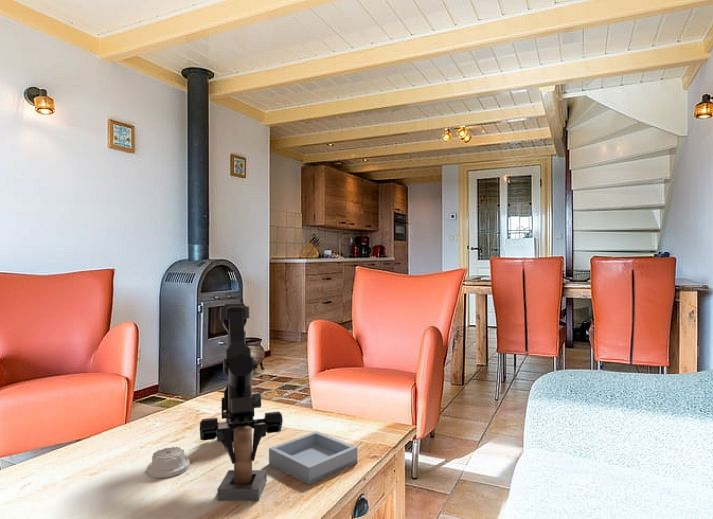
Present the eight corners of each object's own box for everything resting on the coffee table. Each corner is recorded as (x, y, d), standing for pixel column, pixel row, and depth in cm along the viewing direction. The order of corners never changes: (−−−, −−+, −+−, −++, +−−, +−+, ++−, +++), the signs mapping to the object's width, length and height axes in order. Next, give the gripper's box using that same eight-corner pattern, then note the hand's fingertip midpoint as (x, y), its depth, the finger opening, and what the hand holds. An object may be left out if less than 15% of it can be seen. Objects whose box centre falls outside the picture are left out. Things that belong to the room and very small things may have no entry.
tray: (269, 463, 122) (268, 448, 122) (316, 445, 133) (316, 431, 133) (309, 484, 111) (309, 467, 111) (357, 462, 122) (357, 447, 122)
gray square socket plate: (217, 500, 104) (217, 489, 104) (228, 480, 113) (228, 470, 113) (258, 500, 104) (258, 489, 104) (266, 480, 113) (266, 470, 113)
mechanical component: (137, 477, 115) (175, 481, 113) (137, 459, 115) (174, 462, 113) (162, 459, 125) (197, 462, 123) (162, 442, 125) (197, 445, 123)
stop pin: (230, 490, 108) (230, 429, 108) (246, 484, 111) (245, 424, 111) (240, 496, 106) (239, 433, 105) (255, 490, 108) (255, 428, 108)
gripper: (199, 384, 109) (198, 452, 99) (281, 378, 114) (288, 441, 104) (200, 408, 117) (199, 472, 106) (277, 400, 122) (283, 461, 112)
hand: (243, 461), depth 107 cm, fingers closed on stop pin, 4 cm apart
